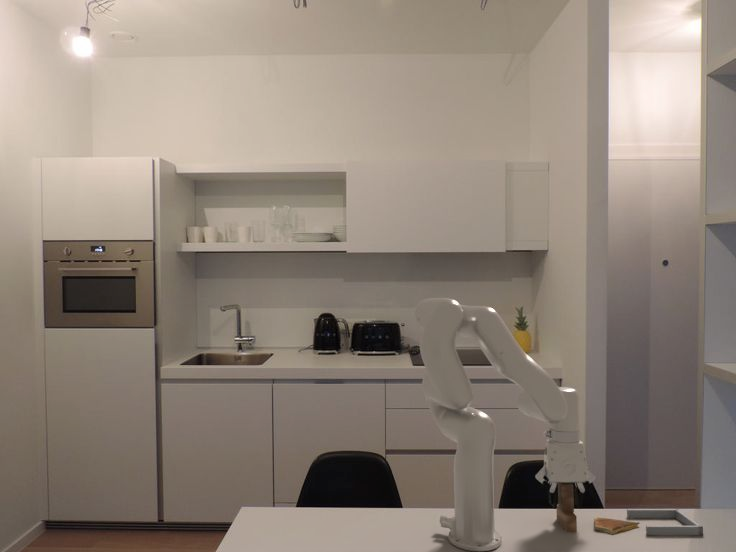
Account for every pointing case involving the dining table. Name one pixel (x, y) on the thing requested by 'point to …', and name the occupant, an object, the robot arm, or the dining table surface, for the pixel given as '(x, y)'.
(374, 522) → the dining table surface
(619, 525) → the shard
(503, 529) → the dining table surface
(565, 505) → the wooden step block
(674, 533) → the frame
